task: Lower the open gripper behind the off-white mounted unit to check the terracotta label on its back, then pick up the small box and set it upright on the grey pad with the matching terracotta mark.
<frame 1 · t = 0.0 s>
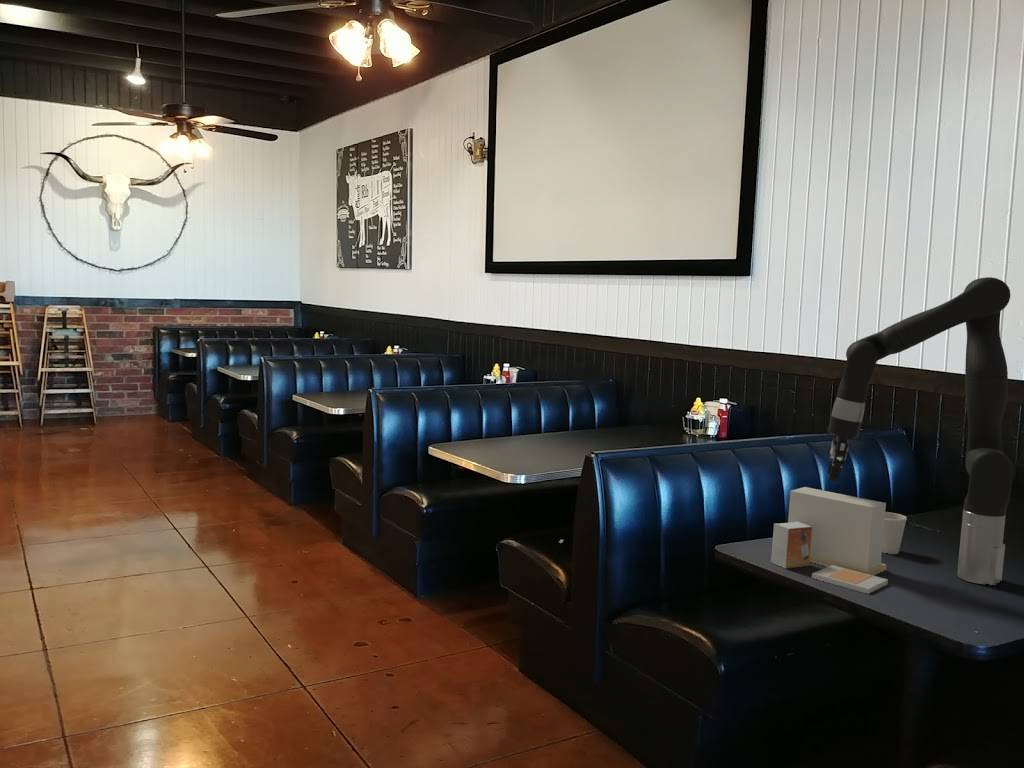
hand: (832, 477, 224), 22 cm above the table, tool pointing down, fingers open, 8 cm apart
mounted unit: (831, 562, 225), on the table
small box: (789, 565, 222), on the table
dixie cup: (887, 551, 238), on the table
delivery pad: (849, 581, 210), on the table
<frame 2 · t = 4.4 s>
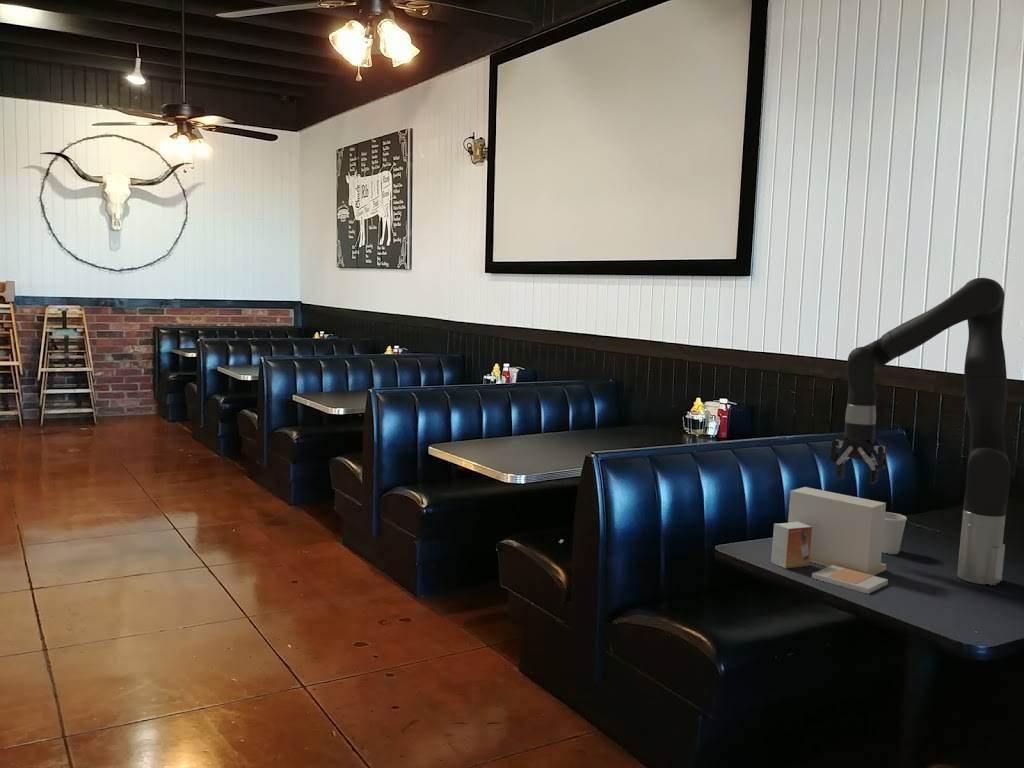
hand: (856, 481, 231), 20 cm above the table, tool pointing down, fingers open, 8 cm apart
nothing on the table moved.
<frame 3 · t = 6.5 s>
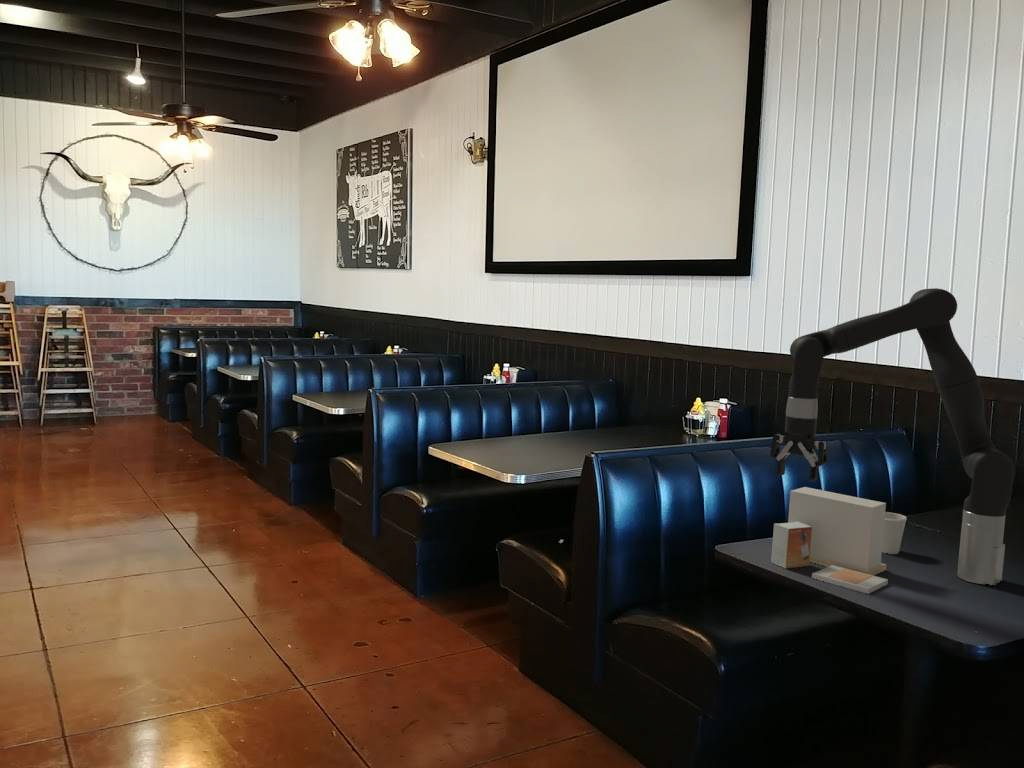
hand: (796, 477, 219), 23 cm above the table, tool pointing down, fingers open, 8 cm apart
nothing on the table moved.
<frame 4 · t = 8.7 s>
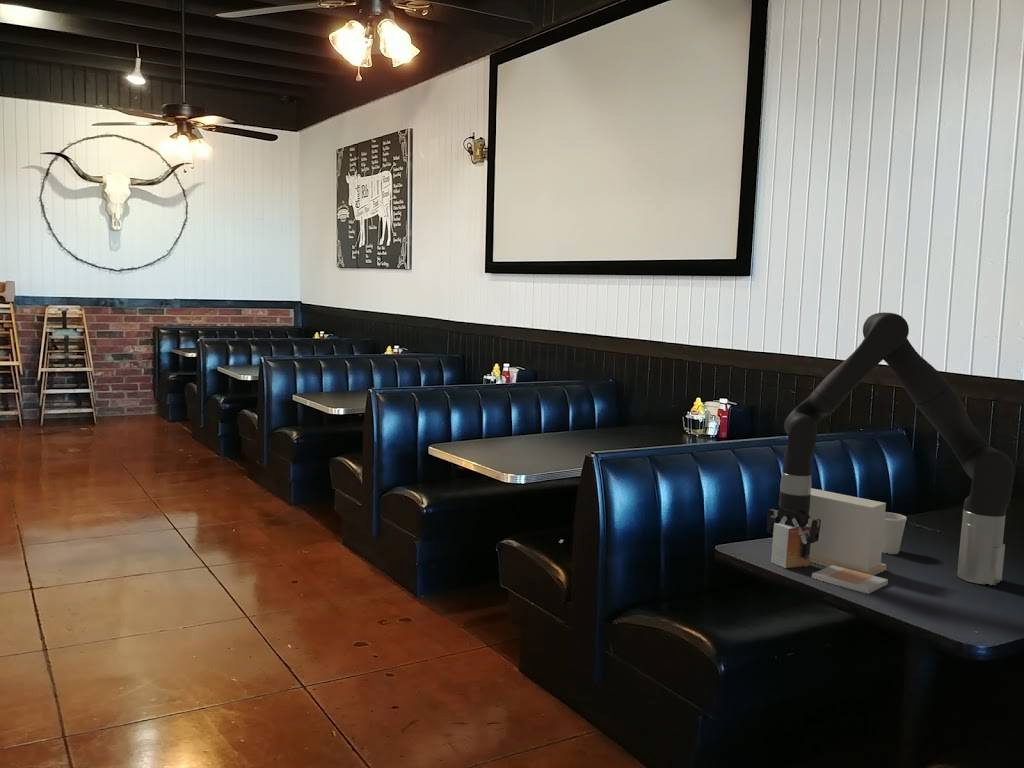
hand: (790, 553, 221), 3 cm above the table, tool pointing down, fingers closed on small box, 6 cm apart
small box: (789, 565, 222), on the table, touching gripper
everything else where it was.
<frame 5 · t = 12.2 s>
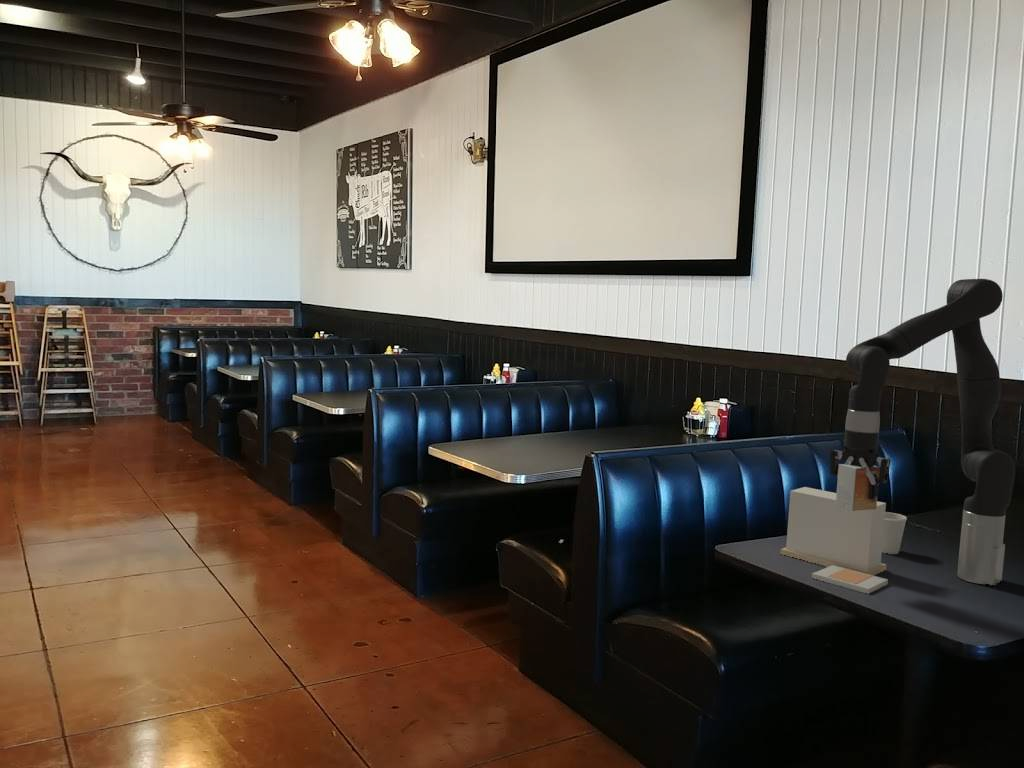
hand: (856, 496, 208), 21 cm above the table, tool pointing down, fingers closed on small box, 6 cm apart
small box: (855, 508, 208), point 18 cm above the table, touching gripper
everything else where it was.
when the fingers open (6 cm above the table, at t = 15.6 s): small box drops 1 cm, resting on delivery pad.
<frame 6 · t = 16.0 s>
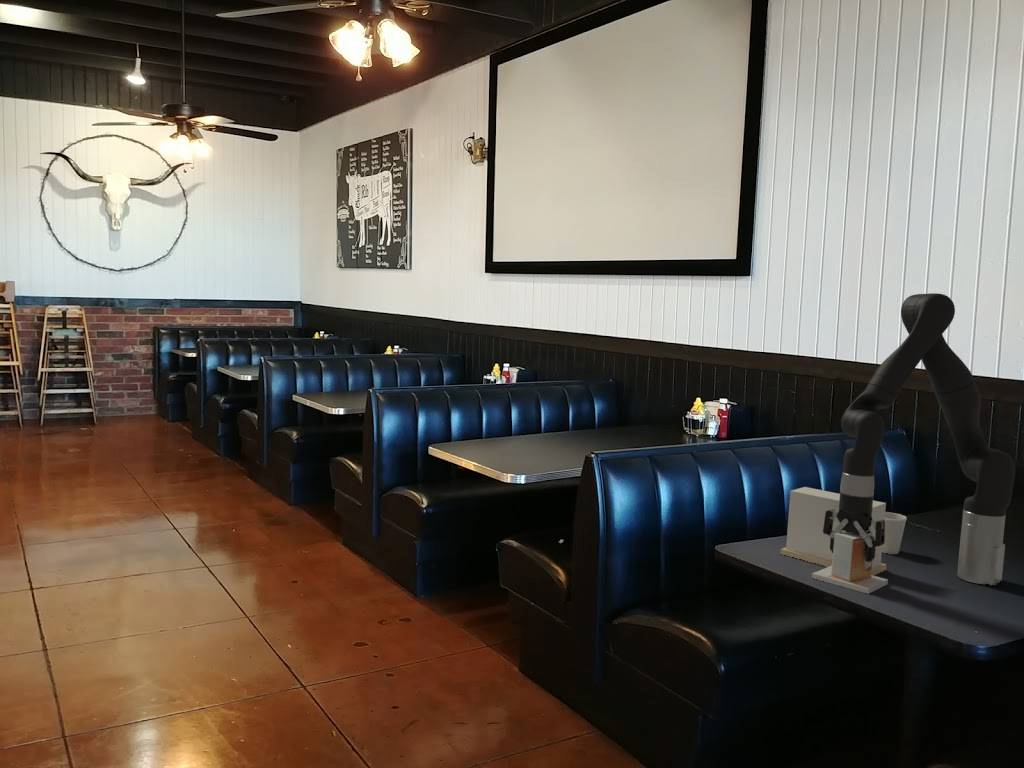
hand: (851, 557, 209), 6 cm above the table, tool pointing down, fingers open, 8 cm apart
small box: (851, 577, 210), point 1 cm above the table, touching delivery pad
everything else where it was.
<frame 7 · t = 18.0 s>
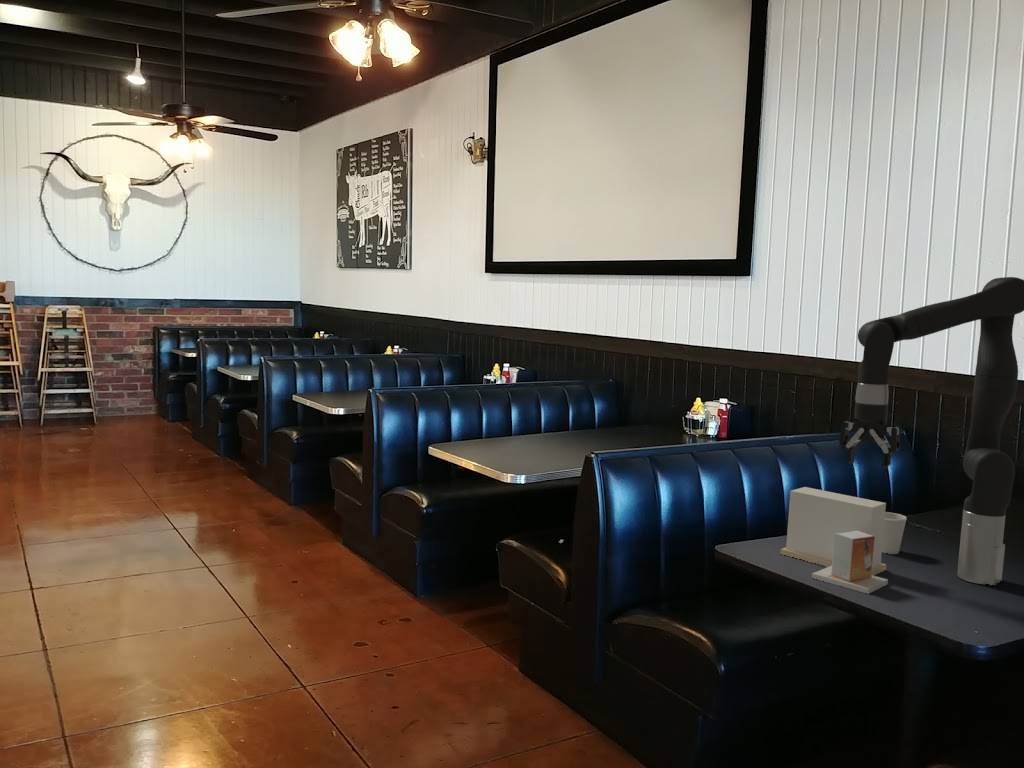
hand: (867, 465, 216), 27 cm above the table, tool pointing down, fingers open, 8 cm apart
nothing on the table moved.
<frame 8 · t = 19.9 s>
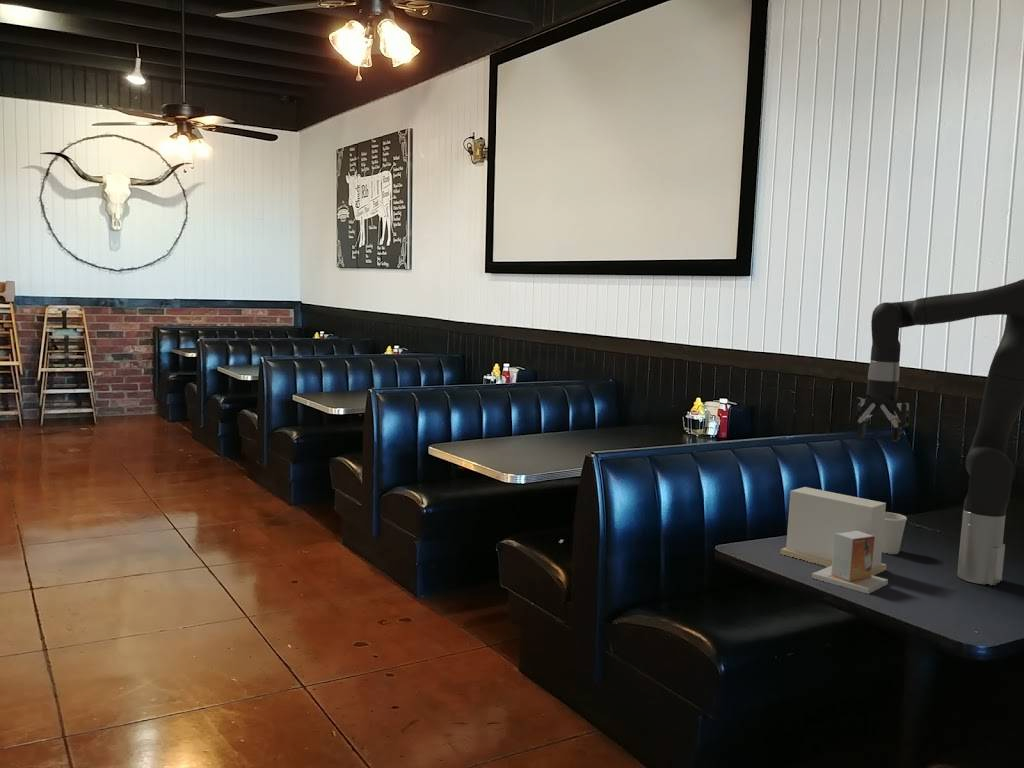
hand: (878, 439, 228), 32 cm above the table, tool pointing down, fingers open, 8 cm apart
nothing on the table moved.
at the end: small box inside the target area on the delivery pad (0.3 cm from its centre), point 1.1 cm above the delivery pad's base; small box tilted 0°; the gripper is holding nothing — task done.
